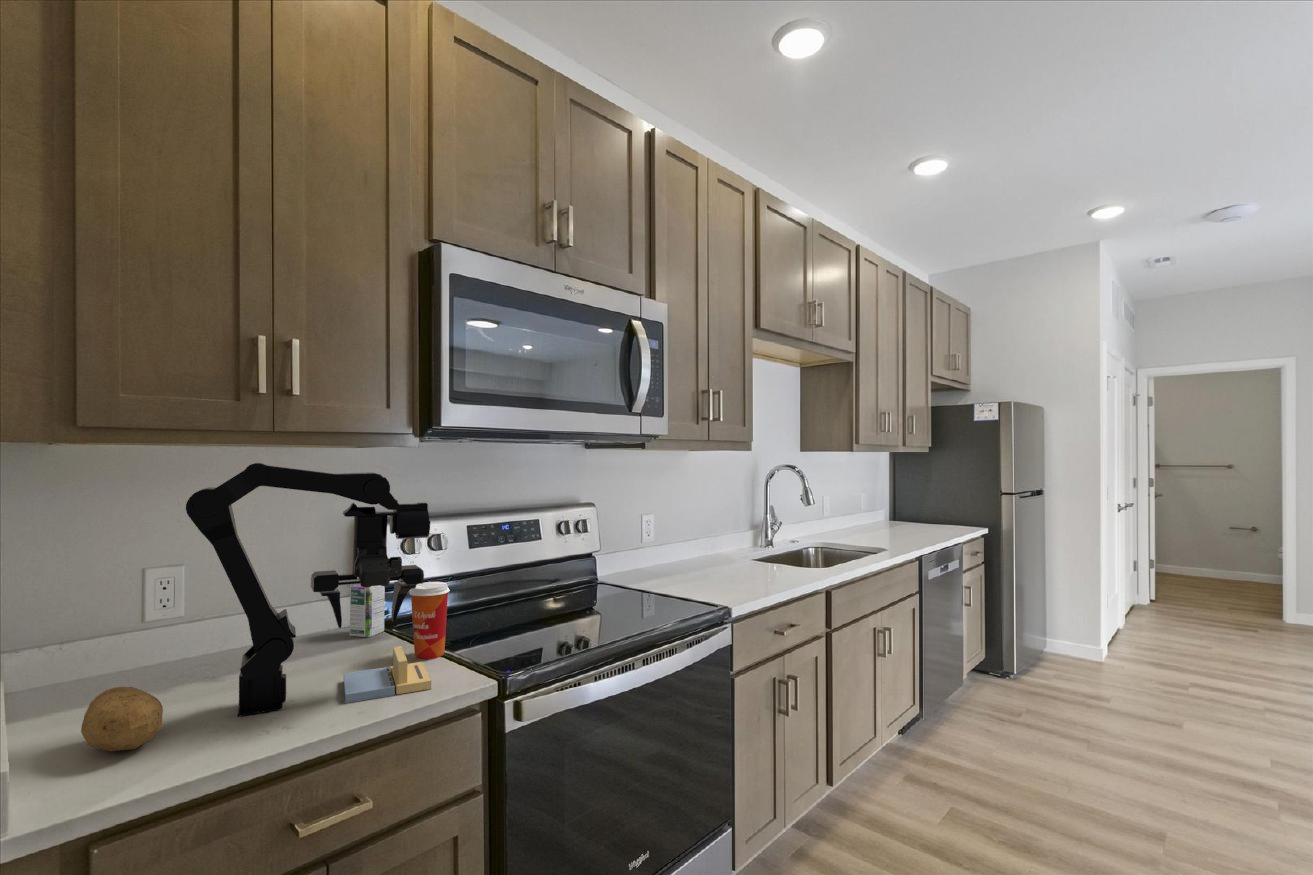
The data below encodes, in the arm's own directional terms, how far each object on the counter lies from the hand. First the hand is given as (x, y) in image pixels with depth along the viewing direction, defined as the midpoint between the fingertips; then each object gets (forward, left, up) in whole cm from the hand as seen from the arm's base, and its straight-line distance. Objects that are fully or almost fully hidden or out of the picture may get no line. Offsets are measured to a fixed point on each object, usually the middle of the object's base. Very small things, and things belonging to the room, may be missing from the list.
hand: (367, 624), depth 121 cm
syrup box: (+2, +39, -12) cm, 41 cm away
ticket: (0, 0, -12) cm, 12 cm away
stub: (+8, 0, -12) cm, 14 cm away
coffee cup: (+13, +15, -12) cm, 23 cm away
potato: (-34, -9, -12) cm, 37 cm away
